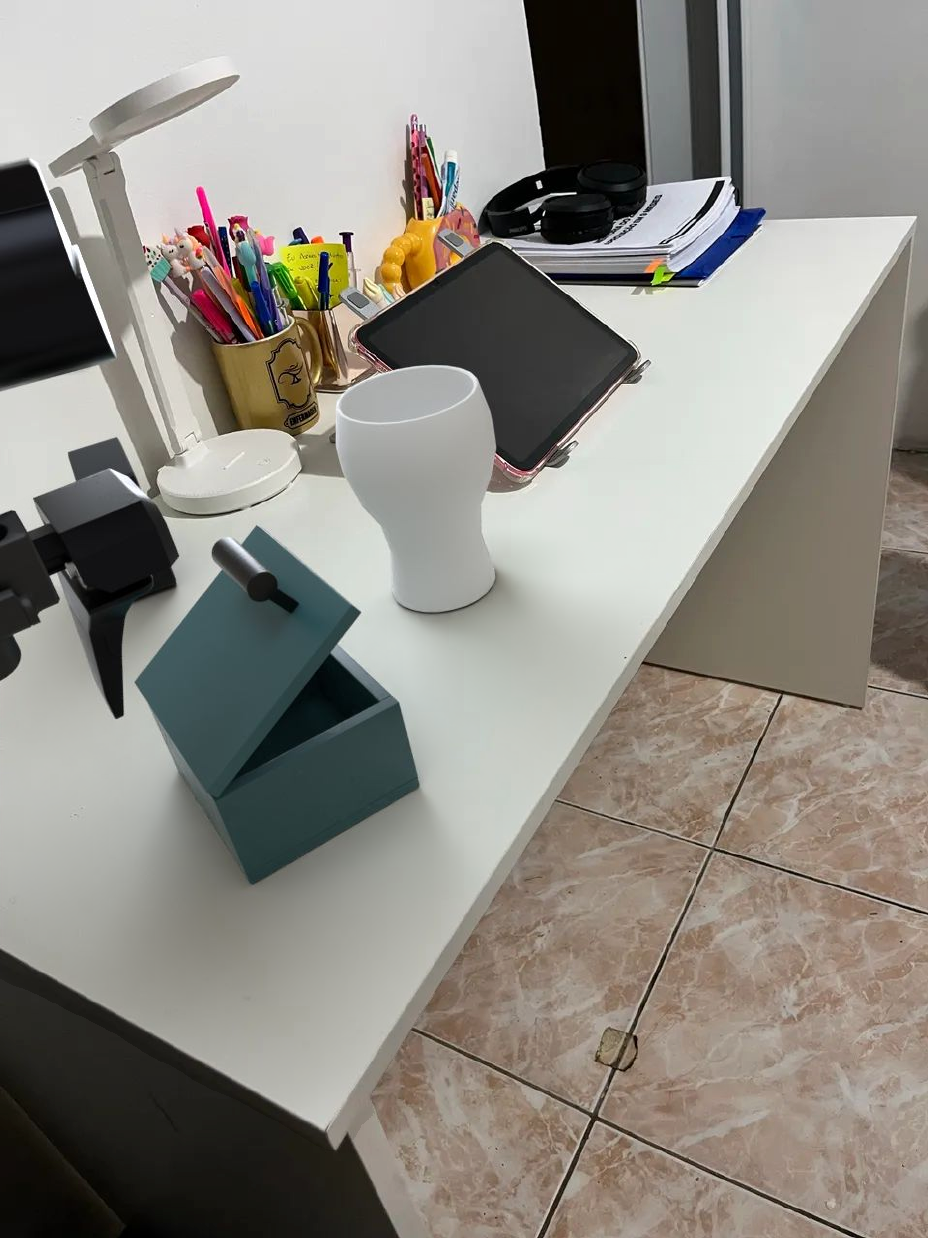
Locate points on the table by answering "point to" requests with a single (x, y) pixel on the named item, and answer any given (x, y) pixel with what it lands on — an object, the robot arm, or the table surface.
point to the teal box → (311, 770)
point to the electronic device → (115, 458)
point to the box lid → (242, 654)
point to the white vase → (423, 478)
